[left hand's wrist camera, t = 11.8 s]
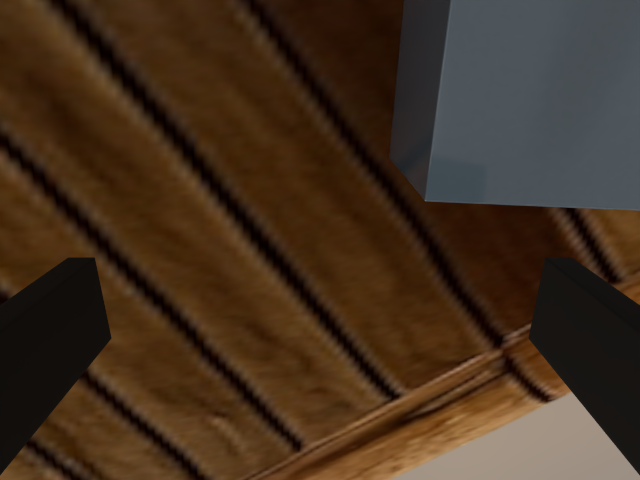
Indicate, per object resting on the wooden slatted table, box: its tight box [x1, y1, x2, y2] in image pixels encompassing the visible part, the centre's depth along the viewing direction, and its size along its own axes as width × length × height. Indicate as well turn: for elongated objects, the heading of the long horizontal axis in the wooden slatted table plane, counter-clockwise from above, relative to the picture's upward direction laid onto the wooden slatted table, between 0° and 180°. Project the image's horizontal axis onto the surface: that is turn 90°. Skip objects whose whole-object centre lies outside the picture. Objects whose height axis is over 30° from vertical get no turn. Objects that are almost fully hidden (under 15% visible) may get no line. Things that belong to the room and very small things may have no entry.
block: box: [389, 0, 640, 211], centre depth 19 cm, size 8×9×10 cm
